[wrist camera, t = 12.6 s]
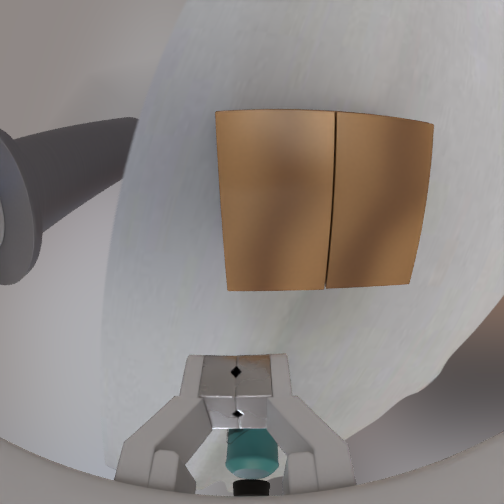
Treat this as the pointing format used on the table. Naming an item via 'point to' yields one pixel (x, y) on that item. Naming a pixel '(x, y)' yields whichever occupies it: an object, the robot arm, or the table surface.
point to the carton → (376, 198)
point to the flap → (275, 197)
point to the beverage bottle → (251, 460)
